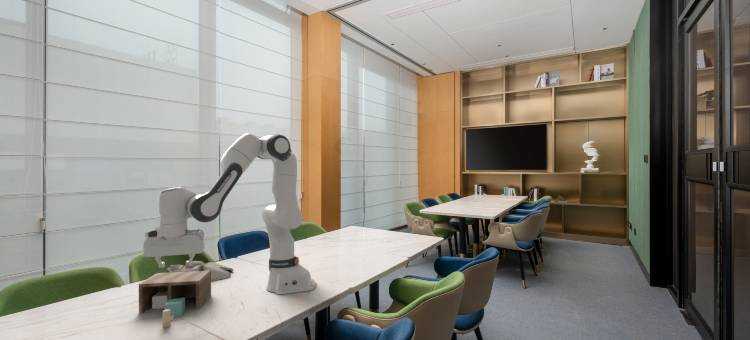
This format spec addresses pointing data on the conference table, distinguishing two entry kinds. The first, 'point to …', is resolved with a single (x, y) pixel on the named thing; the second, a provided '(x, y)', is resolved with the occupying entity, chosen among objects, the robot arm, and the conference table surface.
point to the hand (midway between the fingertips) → (175, 266)
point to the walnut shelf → (176, 287)
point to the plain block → (159, 300)
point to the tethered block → (173, 310)
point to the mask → (204, 269)
